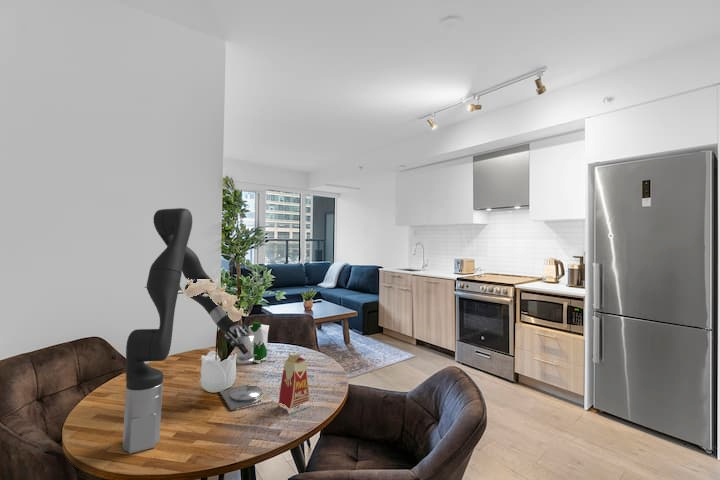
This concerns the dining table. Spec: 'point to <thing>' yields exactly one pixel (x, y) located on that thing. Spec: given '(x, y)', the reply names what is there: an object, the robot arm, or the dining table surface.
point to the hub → (249, 344)
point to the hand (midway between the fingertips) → (250, 350)
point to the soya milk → (259, 339)
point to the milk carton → (294, 382)
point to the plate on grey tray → (241, 396)
